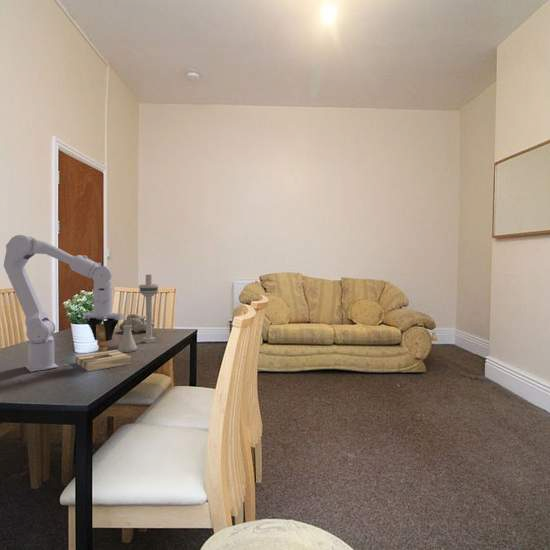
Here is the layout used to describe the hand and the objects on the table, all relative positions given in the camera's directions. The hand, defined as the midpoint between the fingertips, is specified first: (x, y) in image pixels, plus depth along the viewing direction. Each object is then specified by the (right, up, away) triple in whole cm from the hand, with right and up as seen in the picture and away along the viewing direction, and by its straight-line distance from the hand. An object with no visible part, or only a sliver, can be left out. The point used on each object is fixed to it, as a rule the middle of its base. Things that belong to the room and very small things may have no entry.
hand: (103, 340), depth 131 cm
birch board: (0, -8, 0) cm, 8 cm away
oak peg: (0, -4, 0) cm, 4 cm away
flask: (+1, -8, +20) cm, 22 cm away
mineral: (-11, -7, +63) cm, 64 cm away
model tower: (+4, -7, +38) cm, 39 cm away
